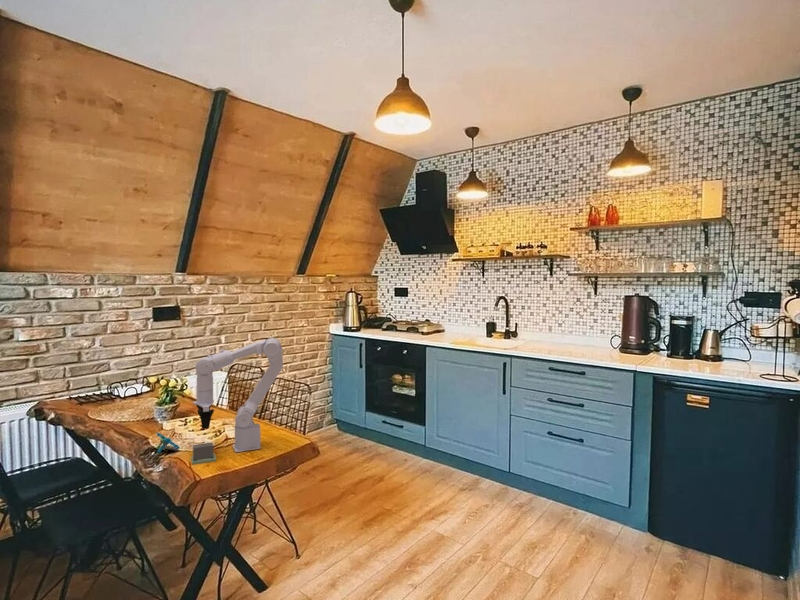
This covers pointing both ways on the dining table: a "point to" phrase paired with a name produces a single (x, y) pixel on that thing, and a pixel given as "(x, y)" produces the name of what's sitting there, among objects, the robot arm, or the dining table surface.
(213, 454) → the header board
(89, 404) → the dining table surface
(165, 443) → the teal plastic t-shaped piece
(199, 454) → the plug housing
